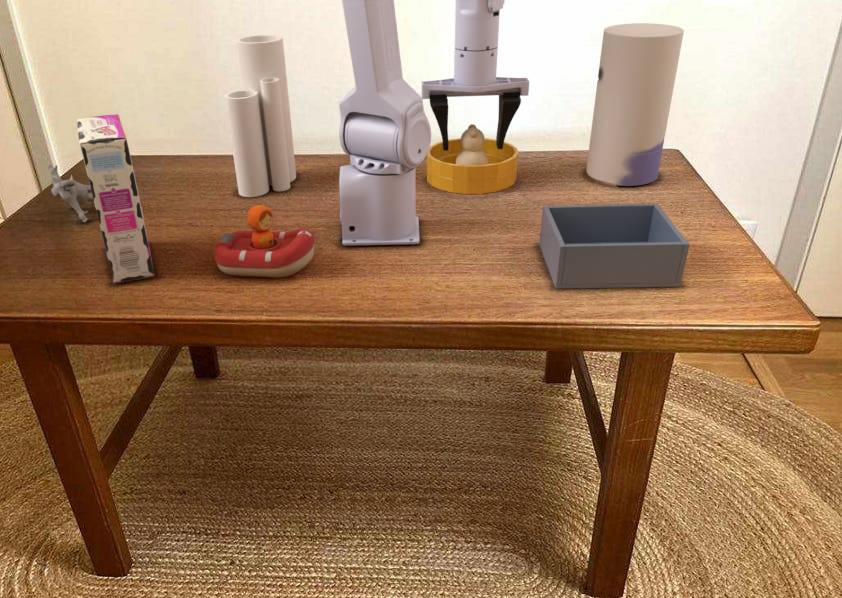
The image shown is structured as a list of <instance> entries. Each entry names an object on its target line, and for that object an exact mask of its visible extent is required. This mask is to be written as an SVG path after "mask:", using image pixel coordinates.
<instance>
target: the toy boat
mask: <svg viewBox="0 0 842 598" xmlns="http://www.w3.org/2000/svg"><path fill="white" fill-rule="evenodd" d="M246 220H247V224H248V226H249V227H250V229H252V230H246V229H245V230H237V231H233V232H226V233H224V234H223V235H222V236H221V237H220V238H219V239H218V241H217V243H216V244H215V246H214V261H215V263H216V265H217V267H218V269H219V270H220V271H221V272H222V273H224V274H226V275H229V276H235V277H237V276H239V277H255V278H256V277H258V278H274V279H275V278H279V279H280V278H286V277H289V276H292V275H294V274H296V273H298V272H299V271H301V270H303V268H305V267H306V266H307V265H308V264H309V263H310V262H311V261H312V259H313V257H314V253H315V237H314V233H313V231H312V230H311V229H310V228H306V227H301V228H297V229H294V230H289V231H271V230H270V228H272V226H273V224H274V223H273V222H274V213H273V212H272V210H271V209H270V207H268V206H266V205H264V204H256V205H254V206H252V207H251V208H250V209H249V210H248V212H247V215H246Z"/></svg>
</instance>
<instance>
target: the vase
mask: <svg viewBox="0 0 842 598" xmlns="http://www.w3.org/2000/svg"><path fill="white" fill-rule="evenodd" d="M234 44H235V52H236V61H237V67H238V75H239V84H240V89H238V90H233V91H230V92H228V93H226V94H224V101H225V108H226V114H227V121H228V122H227V123H228V128H229V135H230V143H231V149H232V155H233V164H234V168H235V169H234V170H235V177H236V184H237V191H238V195H239V196H240V197H244V198H255V197H260V196H263V195H266V194H267V193H269V191H270V189H271V188H270V186H271V187H272V190H273V191H274V192H285V191H288V190H290V189H291V182H293V181H295V180H296V178H297V169H296V160H295V149H294V140H293V128H292V119H291V110H290V109H291V108H290V100H289V99H290V98H289V97H290V96H289V89H288V88H289V87H288V77H287V69H286V56H285V48H284V47H285V46H284V38H283V36H281V35H277V34H255V35H248V36H242V37H238V38H236V39H234Z"/></svg>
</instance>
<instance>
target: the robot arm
mask: <svg viewBox="0 0 842 598" xmlns="http://www.w3.org/2000/svg"><path fill="white" fill-rule="evenodd" d="M341 3H342V9H343V14H344V22H345V27H346V32H347V33H346V34H347V41H348V46H349V47H348V48H349V53H350V59H351V65H352V72H353V79H354V84H355V85H354V86H353V87H352V88H351V89H350V90H349V91H348V92H347V93H346V94H345V95H344V96H343V97H342V99H341V101H340V102H339V104H338V107H339V115H340V123H339V129H338V136H339V142H340V146H341V148H342V151H343V152H344V153H345V154H346V155H347V156H349V158H350V164H347V165H342V166H340V167H339V203H340V209H339V211H340V212H339V222H340V225H341V235H342V241H341V244H342V246H344V247H345V246H346V247H347V246H348V247H350V246H397V245H399V246H400V245H402V246H403V245H404V246H405V245H419V244H420V222H419V221H420V219H419V216H417V213H416V211H417V208H416V207H417V205H416V204H417V203H416V201H417V200H416V199H417V197H416V194H417V192H416V187H417V186H416V185H417V184H416V183H417V182H416V180H417V179H416V178H417V177H416V172H417V171H416V168H417V167H418V166H420V165H421V164H422V162H423V161H424V160H425V158H427V153H428V150H429V147H430V146H431V143H432V129H431V124H430V121H429V119H428V117H427V115H426V112H425V108H424V100H429V106H430V108H431V110H432V113H433V115H434V117H435V121H436V122H437V126H438V128H439V131H440V135H441V142H442V141H443V150H444V151H448V146H449V143H448V140H449V130H448V127H449V99H448V98H456V97H459V98H460V97H482V96H483V97H485V96H486V97H488V96H490V97H491V96H498V117H497V118H498V119H497V120H498V121H497V129H496V139H495V140H496V145H497V148H498V149H503V144H504V142H505V139H506V136H507V133H508V130H509V127H510V125H511V123H512V121H513V119H514V116H516V114H517V111H518V110H519V108H520V106H521V104H522V97H525V96H526V97H528V96H529V90H530V80H529V78H528V77H506V76H505V77H503V76H497V70H498V69H497V67H498V51H499V33H500V31H499V30H500V12H501V11H500V10H503V9H504V5H505V0H455V11H454V12H455V15H454V16H455V17H454V19H455V21H454V55H453V56H454V57H453V59H454V61H453V65H454V66H453V78H445V79H436V80H425V81H424V80H423V81H421V95H420V94H419V93H418V92H417V90H415V89H414V88H413V87H412V86H411V85H410V84H408V82H407V81H406V80H405V79H404V78H403V77H404V75H403V69H402V59H401V52H400V42H399V34H398V25H397V15H396V8H395V7H396V6H395V0H341Z"/></svg>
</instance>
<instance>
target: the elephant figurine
mask: <svg viewBox="0 0 842 598" xmlns="http://www.w3.org/2000/svg"><path fill="white" fill-rule="evenodd" d="M47 170H48V171H49V174H50V176H49V181H50V183H51V184H52V185H53V186H52V188H51V189H50V191H51V194H52V195H53V196H54V197H55V198H61V199H62V200H63V202H65V203H67V204H69V206H70V207H71V208H72V209H74V210H75V212H76V213H77V214H78V218H79V219H80V220H81V221H82V222H83V223H86V222H88V217H87V216H86V214H88V213H89V210H86V211H84V210H83V209H82V208H81V205H84V204H85V203H87V202H94V199H93V195H92V191H91V187H90V184H83V183H81V182H77V181H76V180H75V179H74V176H73V175H72V174H70V178H69V179H65V180H63V179H62V178H61V176H60V175H59V173H58V165H55V166H54V167H53V165H52V163H49V164H48V165H47Z"/></svg>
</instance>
